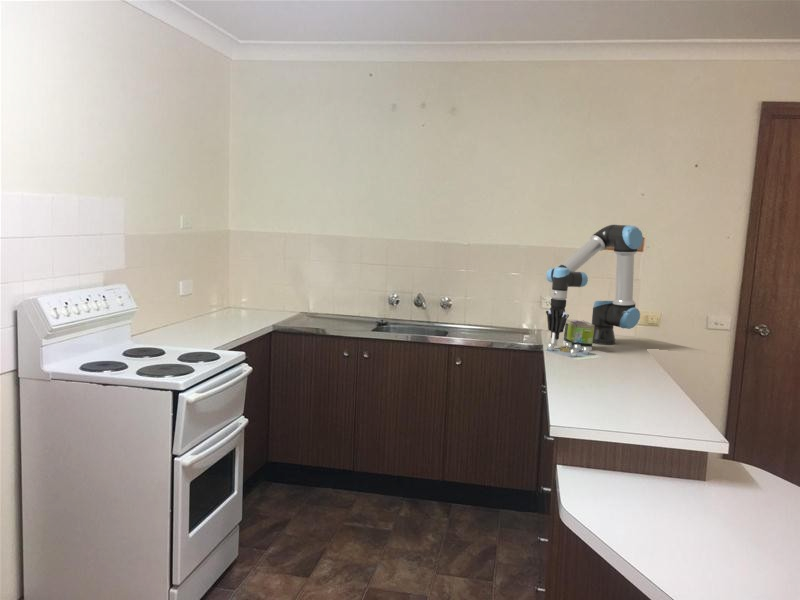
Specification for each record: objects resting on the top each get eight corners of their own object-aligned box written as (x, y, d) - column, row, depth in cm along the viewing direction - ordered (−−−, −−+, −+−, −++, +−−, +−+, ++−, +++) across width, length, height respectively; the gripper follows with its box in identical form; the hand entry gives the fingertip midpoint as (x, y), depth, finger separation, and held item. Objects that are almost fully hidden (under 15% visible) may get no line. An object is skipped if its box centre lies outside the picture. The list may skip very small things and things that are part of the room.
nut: (563, 350, 330) (564, 346, 330) (571, 352, 326) (572, 348, 326) (557, 350, 328) (558, 346, 328) (565, 352, 324) (566, 348, 323)
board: (567, 350, 337) (567, 347, 337) (603, 359, 320) (603, 356, 320) (542, 352, 327) (543, 350, 327) (578, 362, 309) (579, 359, 309)
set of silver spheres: (566, 348, 336) (566, 341, 336) (593, 355, 322) (594, 348, 322) (545, 350, 327) (546, 343, 327) (573, 357, 313) (574, 350, 313)
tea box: (591, 353, 335) (595, 324, 333) (572, 352, 333) (576, 323, 331) (580, 347, 349) (583, 319, 347) (562, 346, 348) (565, 318, 346)
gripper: (543, 296, 332) (539, 343, 335) (564, 300, 322) (559, 348, 325) (553, 296, 337) (549, 342, 340) (574, 300, 326) (569, 347, 329)
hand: (554, 345), depth 332 cm, fingers closed
